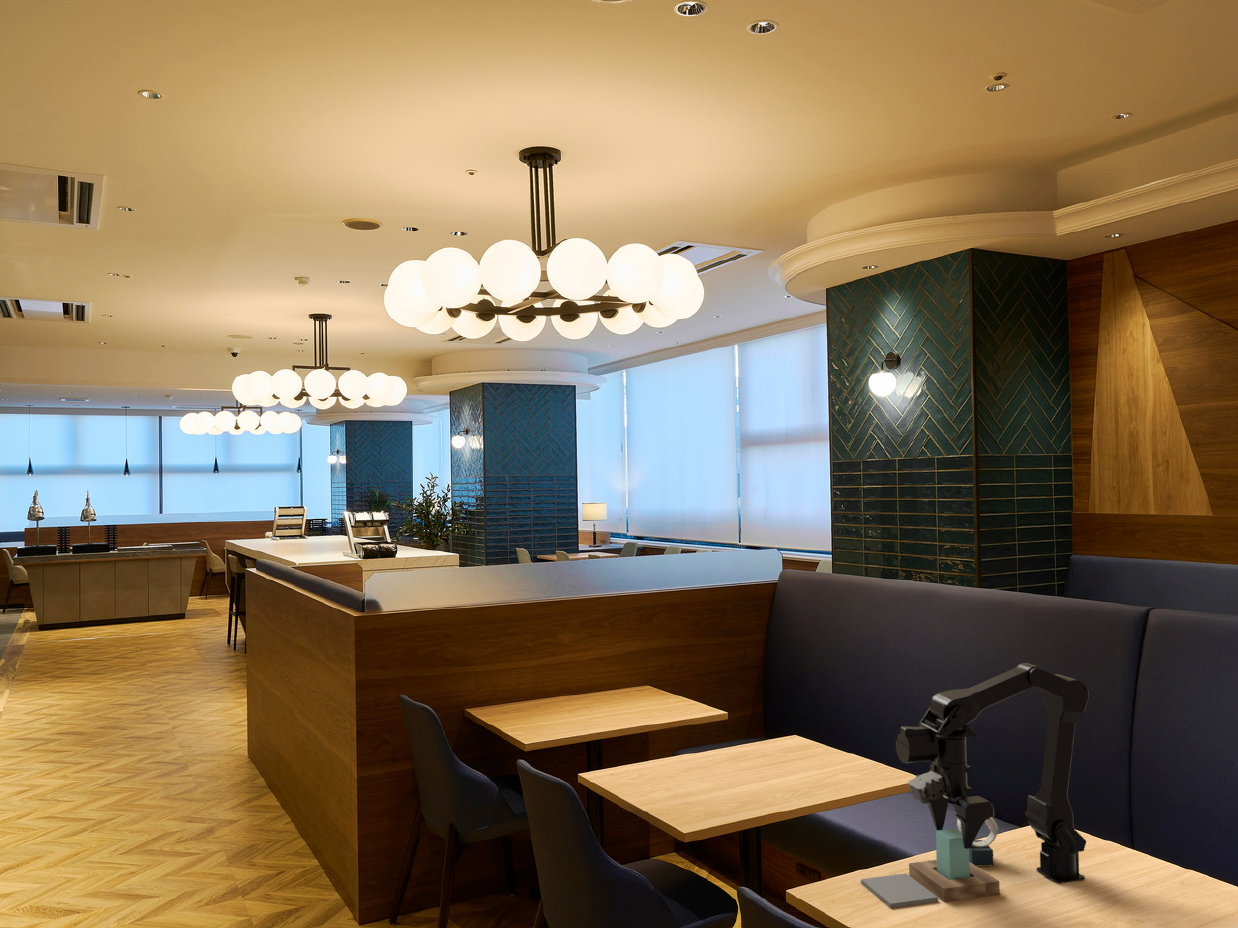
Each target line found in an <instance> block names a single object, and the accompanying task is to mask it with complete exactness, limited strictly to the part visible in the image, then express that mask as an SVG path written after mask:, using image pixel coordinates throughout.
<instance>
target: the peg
mask: <svg viewBox="0 0 1238 928" xmlns="http://www.w3.org/2000/svg"><path fill="white" fill-rule="evenodd" d="M935 847H936V848H935V850H936V851H935V852H936V853H935V854H936V859H935V860H937V872H938V873H940V874H941V875H943V876H944V877H945V878H947V879H948V880H951V879H959V878H966V877H970V861H969V849H965V848H964V844H963V837H962V832H961V831H959V829H958V828H948V829H947V828H946V829H943V830H938V831H937V830H935Z"/></svg>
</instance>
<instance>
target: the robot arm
mask: <svg viewBox="0 0 1238 928" xmlns="http://www.w3.org/2000/svg"><path fill="white" fill-rule="evenodd" d="M1031 688H1035V689H1037V690H1038V691H1040V692H1042V701H1043V706H1044V708H1045V713H1046V714H1047V718H1048V720H1047V722H1048V723H1047V728H1046V729H1047V730H1046V737H1045V738H1046V739H1045V748H1044V756H1043V762H1042V763H1043V764H1042V766H1043V767H1042V774H1041V782H1040V788H1039V790H1038V791H1037V792H1036V794H1035V795H1034V796H1032V795H1031V794H1030V795H1028V797H1027V800H1026V801H1027V803H1026V804H1027V807H1026V811H1025V813H1024V815H1025V816H1027V823H1028V824H1029V826H1030V827H1031V829H1032V830H1034V833H1035V835H1036V837H1037V838H1038V839H1041V840H1042V841H1043V842H1041V843H1040V845H1041V846H1040V847H1041V850H1040V851H1039V864H1040V865H1039V866H1038V867H1036V871H1037V872H1039V873H1040V874H1041V875H1043V876H1045V877H1047V878H1049V879H1051V880H1052V881H1054V882H1056V883H1058V884H1062V883H1068V882H1076V881H1083V880H1085V879H1086V876H1085V875H1083V874H1081V873H1080V855H1079V854H1080V853H1081V852H1084V851H1085V848H1086V845H1087V840H1086V839H1085V838H1084V837H1083V836H1082V835H1081V834H1080V833H1079V832H1078V831H1077V830H1076V829H1075V827H1074V813H1073V809H1072V806H1071V803H1070V801H1069V798H1068V792H1069V791H1068V790H1069V783H1070V782H1069V781H1070V774H1071V768H1072V767H1071V765H1072V757H1073V749H1074V739H1075V732H1076V730H1075V729H1076V725H1077V723H1078V722H1079V720H1080V719H1081V717H1082V716H1083V715H1084V713H1085V711H1086V708H1087V704H1088V702H1089V695H1090V694H1089V688H1088V687H1087V686H1086V684H1085V683H1084V682H1082V681H1081V680H1078V679H1075V678H1072V677H1069V676H1065V675H1062V674H1059V673H1054V674H1053V673H1051V672H1048V671H1046V670H1044V669H1042V667H1040V666H1037V665H1034V664H1031V663H1027V662H1022V663H1019V664H1018V665H1017V666H1016V667H1014V668H1012V669H1010V670H1008V671H1005V672H1003V673H1000V674H998V675H996V676H993V677H991V678H989V679H987V680H985V681H982V682H979V683H978V684H975V685H973V686H971V687H968V688H959V689H951V690H947V691H941V692H938V693H936V694H935V695H933V696H932V698H931V701H930V704H929V705H930V706H929V707H928V709H927V710H926V712H925V713H924V715H923V717H922V718H921V719H920V721H919V723H918V724H919V726H907V725H906V726H901V727H900V733H898V734H897V738H896V740H895V750H896V754H897V756H898V759H899V761H901V763H902V764H914V763H916V764H917V763H924V762H925V763H927V762H928V763H929V762H931V764H930V766H929V768H930V770H929V771H928V772H925V773H924V772H923V773H922V774H916V776H915V777H914V778H912V779H910V780H909V781H908V783H907V784H908V786H909V789H910V793H911V795H912V798H913V799H915V800H918V801H919V802H920V803H921V804H923V805H924V804H925V805H927V806H928V809H929V811H930V815H931V818H932V821H933V824H934V828H935V831H938V830H944V826H945V820H946V816H947V812H948V807H949V801H952V802H953V803H954V811H955V814H954V817H956V819H957V818H958V820H959V821H960V822H961V828H962V837H963V844H964V848H965V849H969V848H971V846H972V844H973V842H974V840H976V837H977V835H978V833H980V830H981V828H982V827H983V825H984V823H985V820H987V819H990V817H993V818H994V817H995V805H994V804H993V803H992V802H990V801H989V800H987V799H986V798H984V797H982V796H980V795H974V796H967V795H968V794H969V795H970V794H973V788H972V787H970V786H969V785H968V773H972V766H970V765H968V764H967V762H968V761H967V738H976V737H977V733H976V732H975V731H974V730H973V729H972V728H971V727H970V726H969V724H970V723H971V722H973V721H974V720H976V719H977V717H978V716H979V715H980V713H981V712H983V710H985V709H988V708H989V707H992V706H994V705H995V704H996V705H997V704H999V703H1000V702H1002V701H1005V700H1007V699H1009V698H1011V697H1014V696H1016V695H1018V694H1020V693H1022V692H1025V691H1027V690H1030V689H1031ZM937 721H938V722H940V723H941V724H939V723H937Z"/></svg>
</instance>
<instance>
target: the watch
mask: <svg viewBox="0 0 1238 928" xmlns="http://www.w3.org/2000/svg"><path fill="white" fill-rule="evenodd" d="M956 823H957V824H956V827H957V830H959V831H961V832H962V828H961V822H960V821H959V820H958V818H957V817H956ZM984 823H985V825H986V827H987V828H988V829H989V830H990V833H989V834H988V836H987V837H986V838H985V839H975V840H974V842H973V844H972V846H971V848H969V861H970V862H971V863H972V864H974V865H993V866H994V850H993V848H991V847H990V845H991V844H992V843H993V842H994V841H996V838H997V836H998V835H999V834H998V830H999V829H1000V828H999V825H998V824H997V822H996V820H995V819H994V817H990V819H987V820H985V822H984Z"/></svg>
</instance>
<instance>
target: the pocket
mask: <svg viewBox="0 0 1238 928" xmlns="http://www.w3.org/2000/svg"><path fill="white" fill-rule="evenodd" d="M908 870H909V872H908V875H909V876H910V877H912V878H913V879H914V880H916V881H917V882H918V883H920V884H921V885H922V886H924V887H925V888H926V889H928V890H929V891H930V892H932V893H933V894H934V895H936V896H937V897H938V899H940V900H941V901H943V902H944V903H946V902H953V901H961V900H962V901H963V900H969V899H977V898H981V897H982V898H983V897H990V896H996V895H1001V894H1000V893H1001V892H1000V881H999V879H996V877H994V876H992V875H990V873H987V872H986V871H984V870H983V869H981V868H980V867H978V866H975V865H974V864H972V863H971V862H970V877H966V878H959V879H951V880H948V879H947V878H945V877H944V876H943V875H941V874H940V873H938V872H937V859H932V860H925V861H918V862H917V861H916V862H909V863H908Z"/></svg>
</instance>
